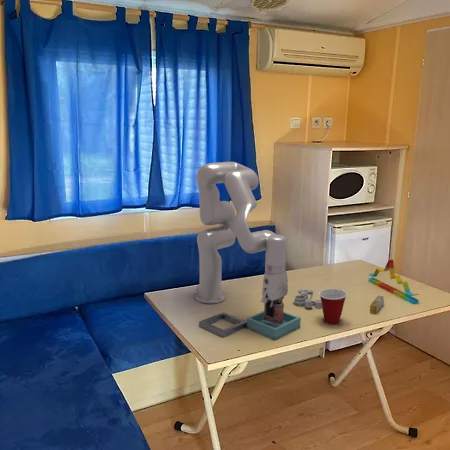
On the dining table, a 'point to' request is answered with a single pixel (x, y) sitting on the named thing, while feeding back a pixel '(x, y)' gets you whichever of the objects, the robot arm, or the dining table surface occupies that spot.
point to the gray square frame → (223, 333)
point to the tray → (273, 325)
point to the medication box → (376, 304)
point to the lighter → (275, 312)
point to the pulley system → (306, 300)
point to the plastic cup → (332, 304)
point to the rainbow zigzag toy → (405, 296)
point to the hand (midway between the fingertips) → (273, 313)
